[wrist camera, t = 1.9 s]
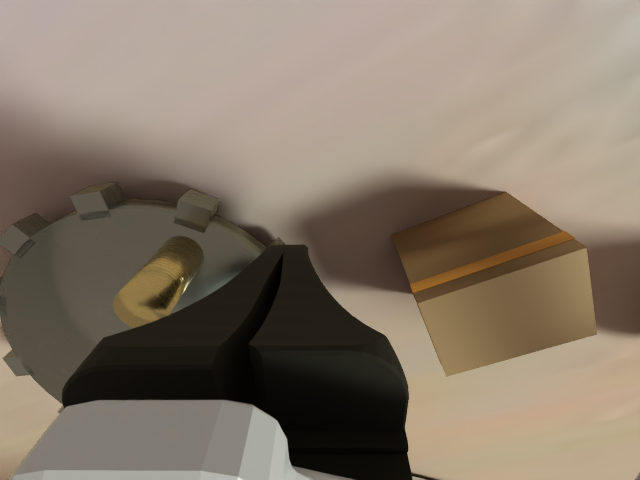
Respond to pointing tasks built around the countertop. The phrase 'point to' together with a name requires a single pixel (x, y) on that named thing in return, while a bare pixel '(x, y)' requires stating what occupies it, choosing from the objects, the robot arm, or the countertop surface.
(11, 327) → the sprocket
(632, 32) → the countertop surface
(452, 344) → the link block
